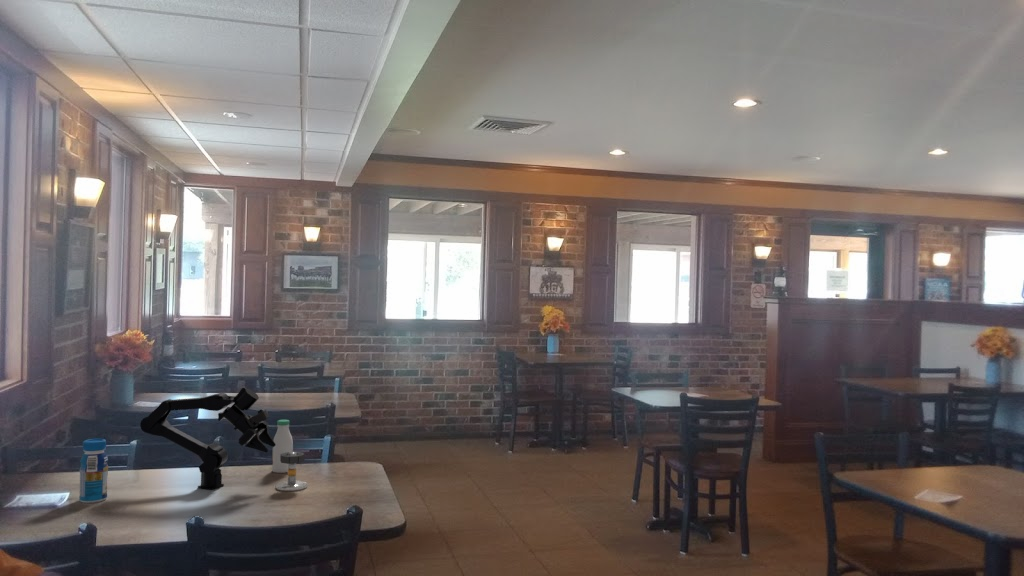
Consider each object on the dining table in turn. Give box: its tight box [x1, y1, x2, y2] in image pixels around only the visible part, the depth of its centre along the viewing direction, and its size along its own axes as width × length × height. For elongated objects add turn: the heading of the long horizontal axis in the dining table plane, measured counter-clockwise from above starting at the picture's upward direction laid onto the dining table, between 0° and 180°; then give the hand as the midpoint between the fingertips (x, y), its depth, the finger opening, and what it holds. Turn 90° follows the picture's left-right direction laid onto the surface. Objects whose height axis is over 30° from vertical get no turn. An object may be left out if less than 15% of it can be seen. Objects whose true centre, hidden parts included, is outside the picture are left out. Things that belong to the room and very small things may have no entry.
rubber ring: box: [280, 451, 305, 464], centre depth 270 cm, size 8×8×2 cm
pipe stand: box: [275, 451, 308, 492], centre depth 270 cm, size 11×11×12 cm
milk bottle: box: [271, 419, 294, 474], centre depth 293 cm, size 8×8×20 cm
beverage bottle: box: [78, 438, 109, 504], centre depth 249 cm, size 8×8×20 cm
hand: (271, 448), depth 269 cm, fingers open, 9 cm apart
